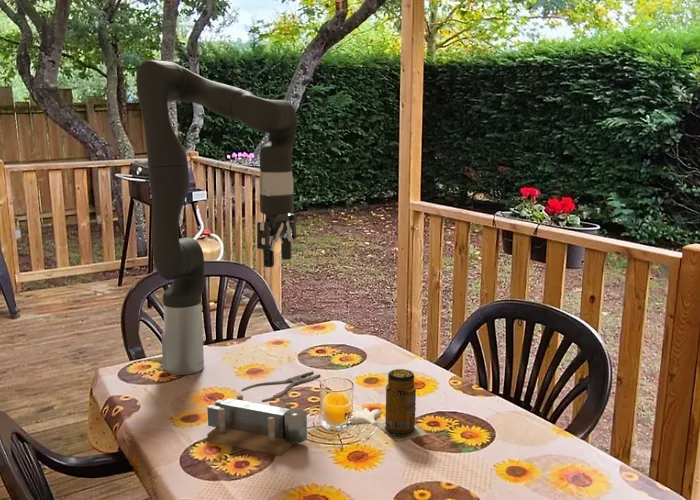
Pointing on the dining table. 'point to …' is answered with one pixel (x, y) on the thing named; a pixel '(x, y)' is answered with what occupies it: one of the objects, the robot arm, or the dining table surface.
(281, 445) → the rack
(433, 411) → the dining table surface
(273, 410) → the grey metal bar
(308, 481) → the dining table surface
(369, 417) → the acanthus leaf ornament
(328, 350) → the dining table surface
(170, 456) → the dining table surface
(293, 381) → the pliers
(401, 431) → the condiment
